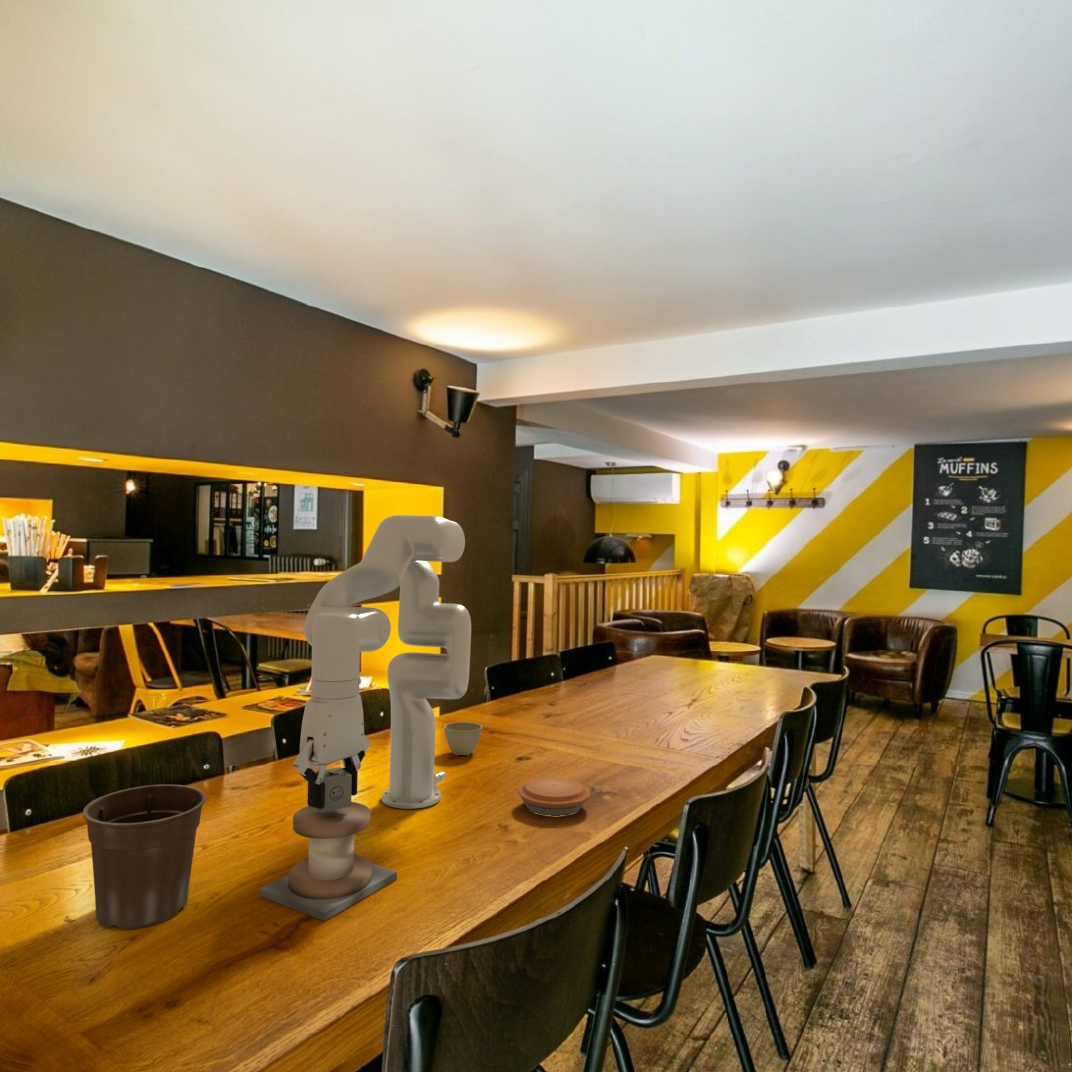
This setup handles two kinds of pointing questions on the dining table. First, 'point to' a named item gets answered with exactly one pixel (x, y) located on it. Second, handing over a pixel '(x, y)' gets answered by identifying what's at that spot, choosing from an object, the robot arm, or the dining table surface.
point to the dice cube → (336, 789)
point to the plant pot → (142, 852)
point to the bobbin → (329, 865)
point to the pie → (553, 795)
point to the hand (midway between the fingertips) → (332, 799)
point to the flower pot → (462, 737)
